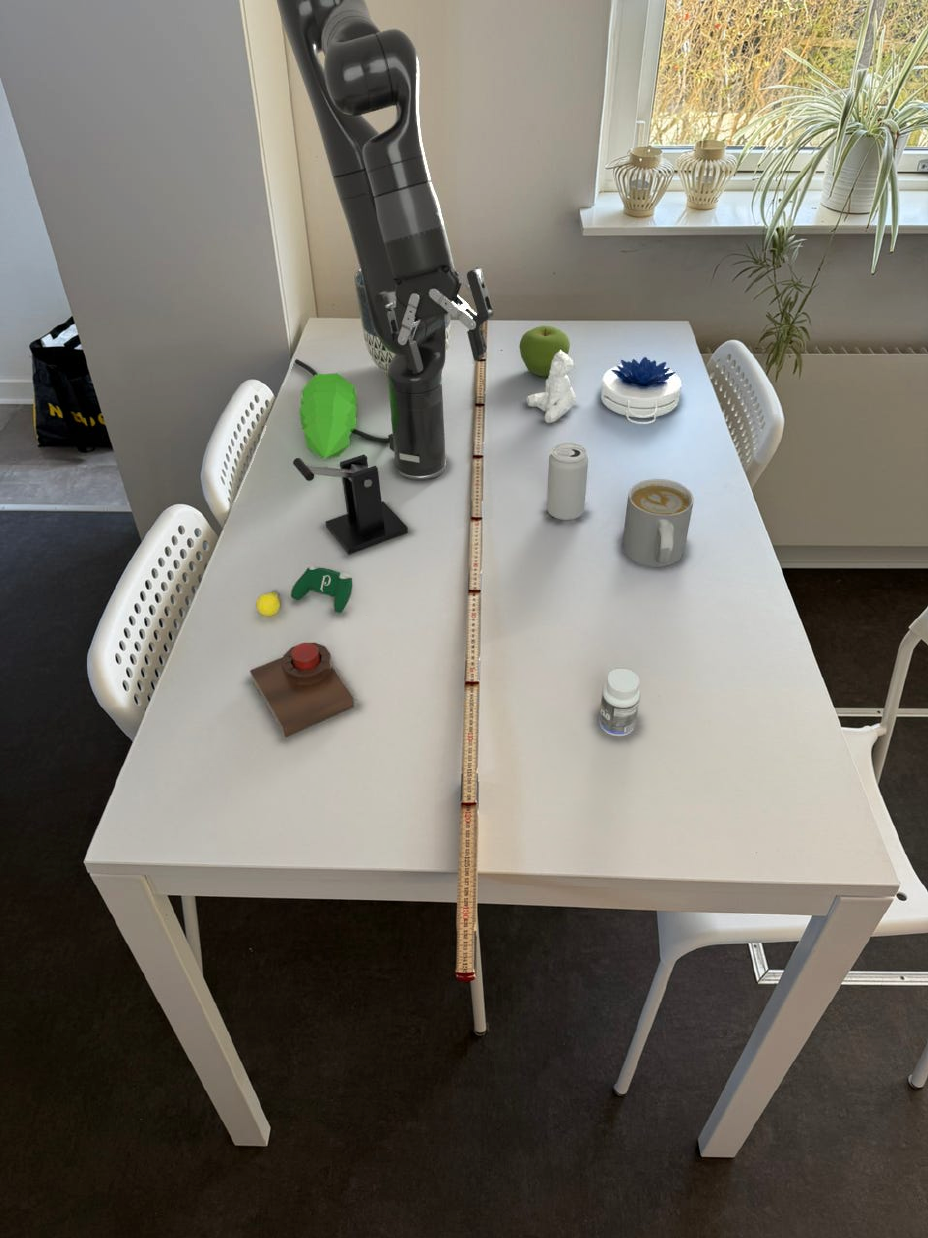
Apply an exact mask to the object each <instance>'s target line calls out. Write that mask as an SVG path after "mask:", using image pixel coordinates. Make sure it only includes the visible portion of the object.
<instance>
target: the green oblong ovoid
mask: <svg viewBox="0 0 928 1238" xmlns="http://www.w3.org/2000/svg"><path fill="white" fill-rule="evenodd" d="M317 374H318V373H317ZM356 391H357V390H356V386H355V385H354V384H353V383H351V381H349V380H348V379H346V378H345V377H343V376H342V375H341V374H339V372H335V373H321V374H318V375H314V376H312V377H311V378H310V380H309V381H308V382H307V383H306V384H305V386H304V387H303V388H302V389H301V394H302V395H301V396H302V397H301V398H300V404H301V405H300V406H299V408H298V410H299V416H300V422H301V429H302V431H303V434H304V440H305V441H304V442H305V447H306V448H307V449H308V450H310V451H311V452H313V453H314V454H315V455H317V456H318V457H319V458H322V459H325V460H326V459H331V458H338V457H340V456H341V455H342V454H343V453H344V451H345V450H346V449H347V448H348V447H349V446H350V445H351V440H350V436H351V434H352V431H353V430H354V429H357V427H358V425H357V417H358V411H357V408H358V400H357V392H356Z"/></svg>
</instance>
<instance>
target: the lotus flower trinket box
mask: <svg viewBox="0 0 928 1238" xmlns="http://www.w3.org/2000/svg"><path fill="white" fill-rule="evenodd" d="M666 366H667V361H663V362H661V363H659V364H657V361H656V359H654V360H652V361H651V360H650V359H648V357H646V356H643V358H642V359H641V360H640V361H637V360H636V359H634V358H633V359H632V360H631V361H630V360H628V361H626V360H624V359H620V364H618V365H616V366H613V367H611V368H610V369H607V371H606V372H605V373H604V374H603V377H602V384H601V392H600V399H601V402H602V404H603V405H604V406H605V407H606V408H607V409H608V410H610V411H612V412H614V413H616V414H619V415H621V416H626V419H627V420H628V422H631V423H633V424H637V425H649V424H653V423H654V422H655V421H656V420H657V417H661V416H664V415H667V414H669V413H670V412H672V411H674V410H675V409H676V408H677V406H678V404H679V401H680V394H681V387H682V381H681V379H680V376H679V375H678V374H677V372H676V371H673V370H672V369H671V368H670V367H666ZM630 417H631V418H637V419H639V418H640V419H647V418H648V419H649V418H653V419H652V420H650V421H636V420H633V419H631V418H630Z"/></svg>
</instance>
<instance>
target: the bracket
mask: <svg viewBox="0 0 928 1238" xmlns="http://www.w3.org/2000/svg"><path fill="white" fill-rule="evenodd" d="M351 464H354V465H364V466H367V467H368V468H366V469H363V470H360V471H357V472H354V473H351V481H350V480H349V479H348V478H346V477H341V480H342V481H341V482H342V487H343V488H342V489H343V495H344V501H345V509H346V513H345V514H343V515H339V516H337V517H335V518H331V519H329V520H326V521H325V527H326V528H327V530H328V531H329V532H330V533H331V535H332V536H333V537H334V539H335V540H336V541H337V542H338V543H339V545H340V546H341V547H342V548H343V549H344V551H345V552H346V553H347V555H352V554H354V553H357V552H360V551H363V550H366V549H368V548H371V547H374V546H377V545H379V544H381V543H384V542H388V541H390V540H392V539H395V538H398V537H400V536H403V535H406V534H408V533H409V529H408V526H407V524H406V523H404V522H403V520H402V519H401V518H400V517H399V516H398V515H397V514H396V513H395V512H394V511H393V510H392V508H390V507H389V505H387V503H386V502H385V501H384V500H383V501H382V493H381V484H380V476H379V475H380V474H379V468H378V467H377V466H376V465H372V466H370V467H369V465H368V464H369V463H368V456H367V455H365V454H360V455H358V456H355V457H351V458H348V459H345V460H343V461H339V467H340V468H339V469H349V470H350V468H351Z"/></svg>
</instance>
